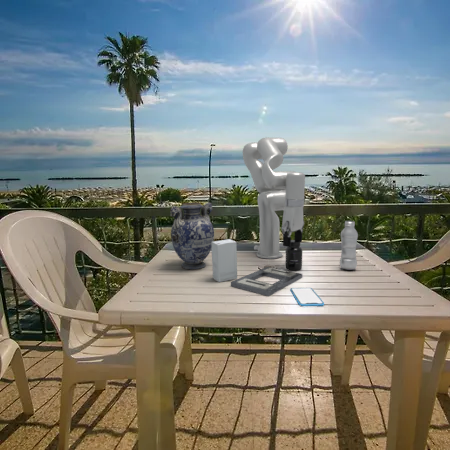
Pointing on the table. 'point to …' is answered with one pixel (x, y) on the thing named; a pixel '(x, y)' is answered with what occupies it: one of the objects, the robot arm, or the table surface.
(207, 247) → the decorative vase
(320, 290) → the table surface
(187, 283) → the table surface
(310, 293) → the smartphone
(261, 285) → the label panel
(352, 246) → the plastic bottle
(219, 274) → the skincare box
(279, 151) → the robot arm
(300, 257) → the supplement bottle
